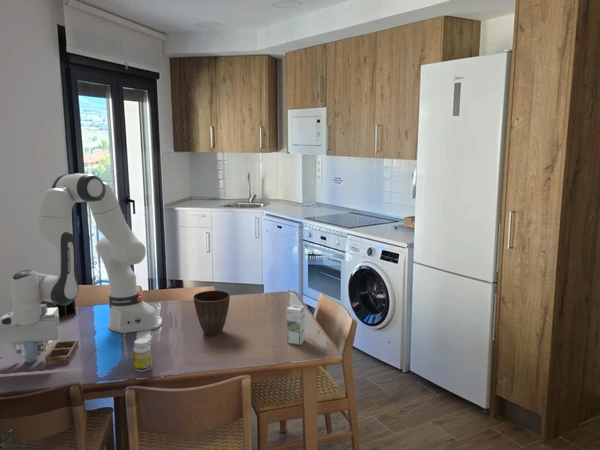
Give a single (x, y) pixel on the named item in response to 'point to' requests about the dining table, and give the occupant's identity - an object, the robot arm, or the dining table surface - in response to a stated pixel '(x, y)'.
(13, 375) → the dining table surface
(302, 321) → the syrup box
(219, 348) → the dining table surface
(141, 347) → the supplement bottle
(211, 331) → the plant pot
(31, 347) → the peg
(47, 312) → the cover
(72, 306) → the letter holder
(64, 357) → the divided wooden tray
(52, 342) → the board
